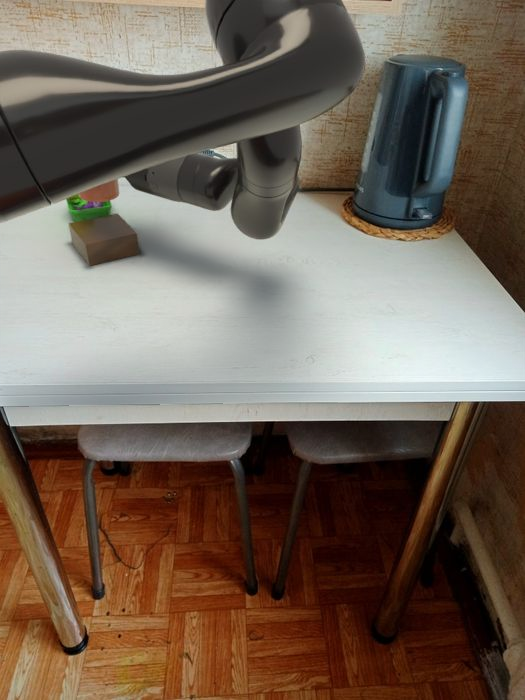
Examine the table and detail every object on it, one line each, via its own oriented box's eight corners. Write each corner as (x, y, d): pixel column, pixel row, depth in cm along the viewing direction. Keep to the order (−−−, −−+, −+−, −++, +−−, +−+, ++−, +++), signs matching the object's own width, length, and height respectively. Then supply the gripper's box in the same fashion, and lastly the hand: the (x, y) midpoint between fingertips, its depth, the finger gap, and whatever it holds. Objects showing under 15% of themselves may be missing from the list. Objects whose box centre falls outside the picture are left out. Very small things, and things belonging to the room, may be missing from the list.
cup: (86, 205, 80) (76, 146, 74) (73, 190, 84) (62, 133, 78) (125, 197, 83) (118, 140, 77) (111, 184, 87) (103, 128, 81)
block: (89, 266, 86) (85, 245, 84) (72, 243, 92) (68, 223, 89) (139, 254, 90) (137, 233, 88) (120, 233, 96) (117, 213, 93)
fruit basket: (116, 231, 96) (107, 172, 89) (67, 237, 93) (54, 176, 86) (107, 206, 104) (98, 150, 97) (61, 211, 101) (49, 153, 94)
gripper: (194, 132, 76) (109, 112, 82) (130, 158, 66) (39, 133, 72) (196, 181, 81) (115, 158, 87) (136, 212, 71) (50, 185, 77)
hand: (81, 147), depth 79 cm, fingers closed on cup, 6 cm apart
